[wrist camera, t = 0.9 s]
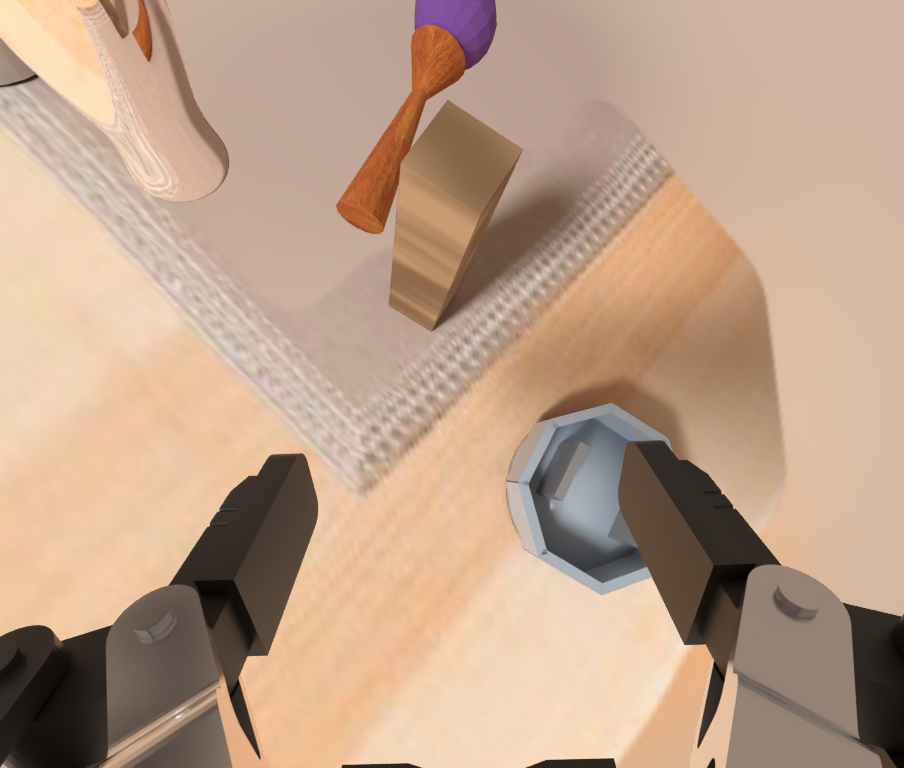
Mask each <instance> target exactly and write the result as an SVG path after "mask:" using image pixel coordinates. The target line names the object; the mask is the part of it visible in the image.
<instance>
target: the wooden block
mask: <svg viewBox="0 0 904 768" xmlns="http://www.w3.org/2000/svg"><path fill="white" fill-rule="evenodd" d="M522 151H523V149H522V148H520V147H519V146H517V145H516V144H514V143H512V142H511V141H510V140H508V139H506V138H505V137H503V136H502V135H500V134H498V133H497V132H496V131H494V130H493V129H491V128H490V127H488V126H487V125H485V124H483V123H482V122H481V121H479V120H477V119H476V118H474V117H473V116H471V115H469V114H468V113H467V112H465V111H464V110H462V109H461V108H459V107H458V106H456V105H455V104H453V103H452V102H450V101H447V102H446V103H445V104H444V106H443V107H442V108H441V110H440V111H439V112H438V114H437V115H436V116H435V118H434V119H433V120H432V122H431V123H430V124H429V126H428V127H427V128H426V130H425V131H424V132H423V134H422V135H421V136H420V138H419V139H418V140H417V142H416V143H415V144H414V146H413V147H412V148H411V150H410V151H409V152H408V154H407V155H406V156H405V158H404V159H403V160H402V162H401V166H400V178H399V190H398V202H397V214H396V227H395V239H394V250H393V262H392V274H391V286H390V298H389V306H391V307H392V308H394V309H396V310H397V311H399V312H400V313H402V314H404V315H405V316H407V317H408V318H410V319H412V320H413V321H415V322H416V323H418V324H420V325H421V326H423V327H425V328H426V329H428V330H429V331H431V332H432V330H433V329H434V327H435V325H436V324H437V322H438V321H439V319H440V317H441V316H442V314H443V313H444V311H445V310H446V308H447V306H448V305H449V303H450V302H451V300H452V299H453V297H454V295H455V294H456V292H457V290H458V288H459V285H460V283H461V281H462V279H463V277H464V275H465V273H466V270H467V268H468V266H469V264H470V262H471V260H472V258H473V255H474V253H475V251H476V249H477V247H478V245H479V243H480V240H481V238H482V236H483V234H484V232H485V230H486V228H487V226H488V223H489V221H490V219H491V217H492V215H493V213H494V211H495V208H496V206H497V204H498V202H499V200H500V198H501V196H502V193H503V191H504V189H505V187H506V185H507V183H508V181H509V178H510V176H511V174H512V172H513V170H514V168H515V166H516V163H517V161H518V159H519V157H520V155H521V153H522Z"/></svg>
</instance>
